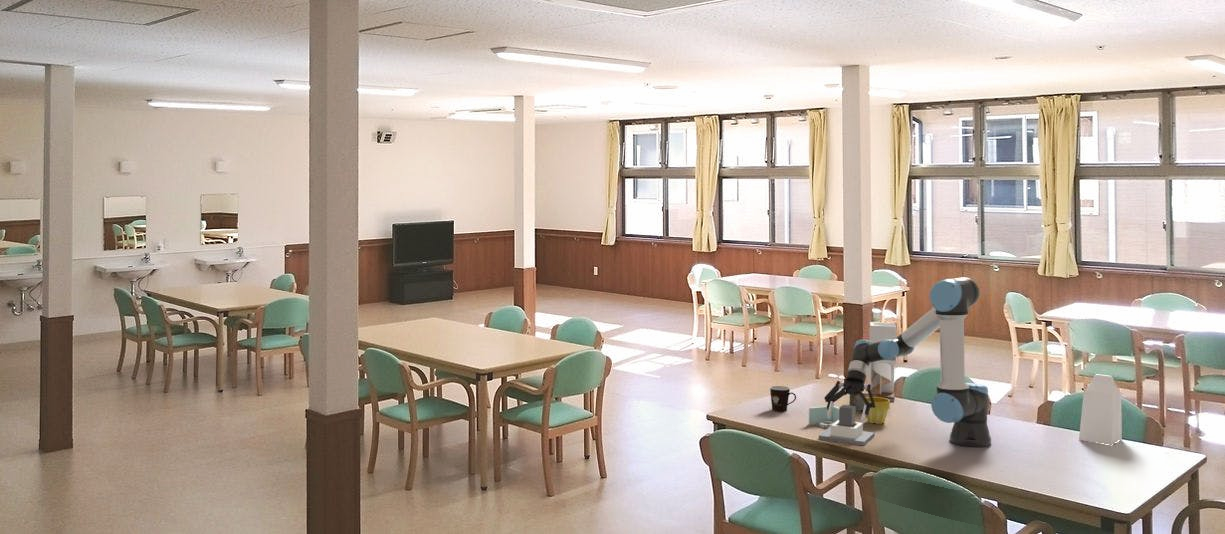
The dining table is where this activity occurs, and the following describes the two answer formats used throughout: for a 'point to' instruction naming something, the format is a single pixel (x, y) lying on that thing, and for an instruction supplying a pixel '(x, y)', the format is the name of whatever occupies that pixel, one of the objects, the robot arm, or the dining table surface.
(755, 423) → the dining table surface
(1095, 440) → the milk
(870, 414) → the plant pot
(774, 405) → the coffee mug
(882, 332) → the white stand
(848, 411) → the plug
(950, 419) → the robot arm
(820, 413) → the right angle wall
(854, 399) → the ruin model on sheet
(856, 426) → the socket
